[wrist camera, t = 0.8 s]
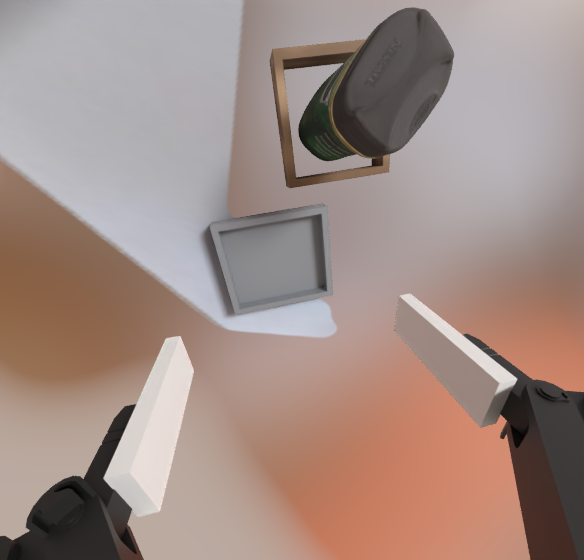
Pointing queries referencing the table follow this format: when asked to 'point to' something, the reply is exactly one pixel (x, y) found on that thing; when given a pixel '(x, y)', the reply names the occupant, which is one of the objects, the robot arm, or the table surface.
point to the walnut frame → (279, 63)
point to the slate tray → (275, 257)
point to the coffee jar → (380, 90)
